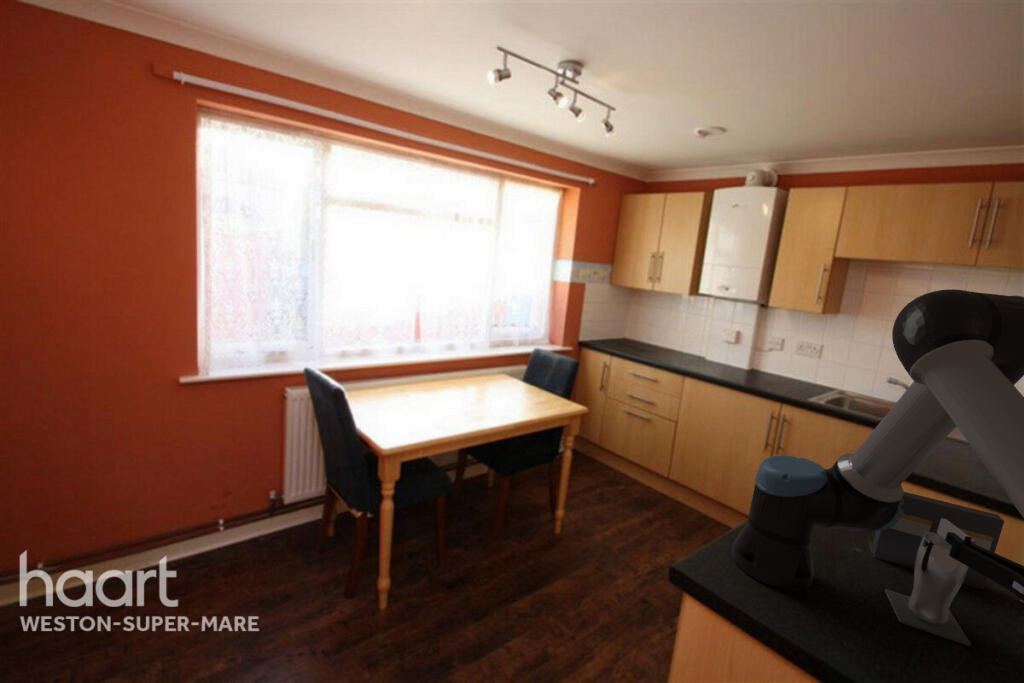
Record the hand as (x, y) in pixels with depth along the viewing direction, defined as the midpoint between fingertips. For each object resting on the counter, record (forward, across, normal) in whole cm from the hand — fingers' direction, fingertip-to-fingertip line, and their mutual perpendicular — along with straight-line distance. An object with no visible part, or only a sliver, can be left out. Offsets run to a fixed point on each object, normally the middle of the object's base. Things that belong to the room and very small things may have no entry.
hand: (987, 534), depth 78 cm
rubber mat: (+7, 0, -22) cm, 23 cm away
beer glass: (+7, 0, -21) cm, 22 cm away
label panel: (+25, +11, -22) cm, 35 cm away
